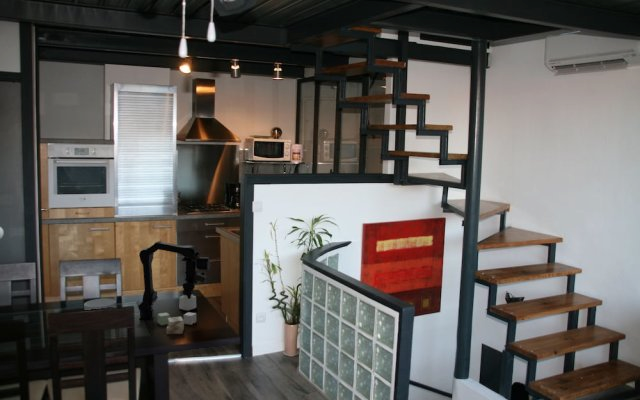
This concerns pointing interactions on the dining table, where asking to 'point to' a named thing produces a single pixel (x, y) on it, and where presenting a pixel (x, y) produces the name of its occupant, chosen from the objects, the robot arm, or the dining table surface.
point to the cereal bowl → (99, 304)
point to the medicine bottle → (187, 301)
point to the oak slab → (175, 330)
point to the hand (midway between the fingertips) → (190, 296)
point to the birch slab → (175, 322)
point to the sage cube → (163, 318)
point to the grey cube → (189, 318)
